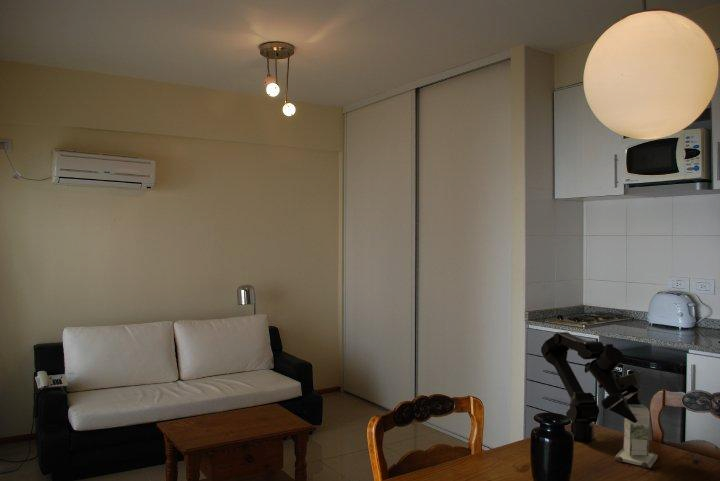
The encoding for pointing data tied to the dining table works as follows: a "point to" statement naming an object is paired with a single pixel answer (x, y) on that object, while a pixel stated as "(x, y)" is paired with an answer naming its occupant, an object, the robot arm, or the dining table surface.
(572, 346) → the robot arm
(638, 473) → the dining table surface
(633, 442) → the syrup box
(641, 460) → the dolly
